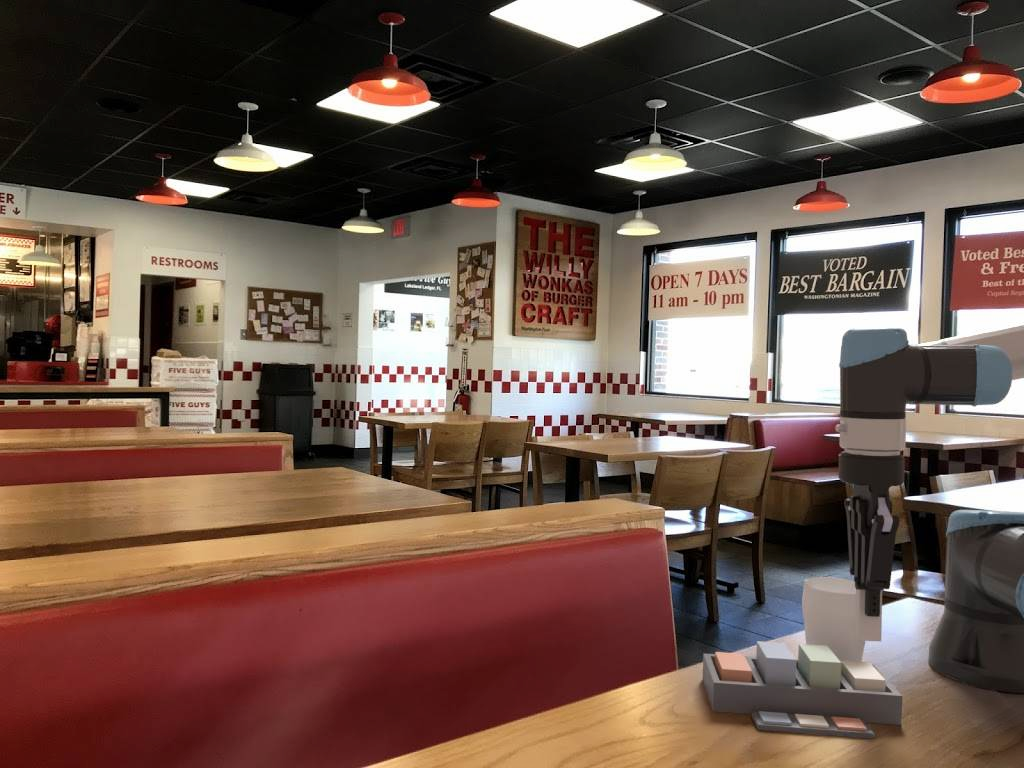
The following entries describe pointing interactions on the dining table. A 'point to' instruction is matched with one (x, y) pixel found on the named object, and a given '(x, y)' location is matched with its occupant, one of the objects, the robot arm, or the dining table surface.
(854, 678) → the key ivory
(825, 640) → the cup
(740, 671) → the key terracotta
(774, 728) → the strip
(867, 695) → the keypad
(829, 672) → the key sage
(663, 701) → the dining table surface
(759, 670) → the key slate
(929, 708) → the dining table surface
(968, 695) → the dining table surface
